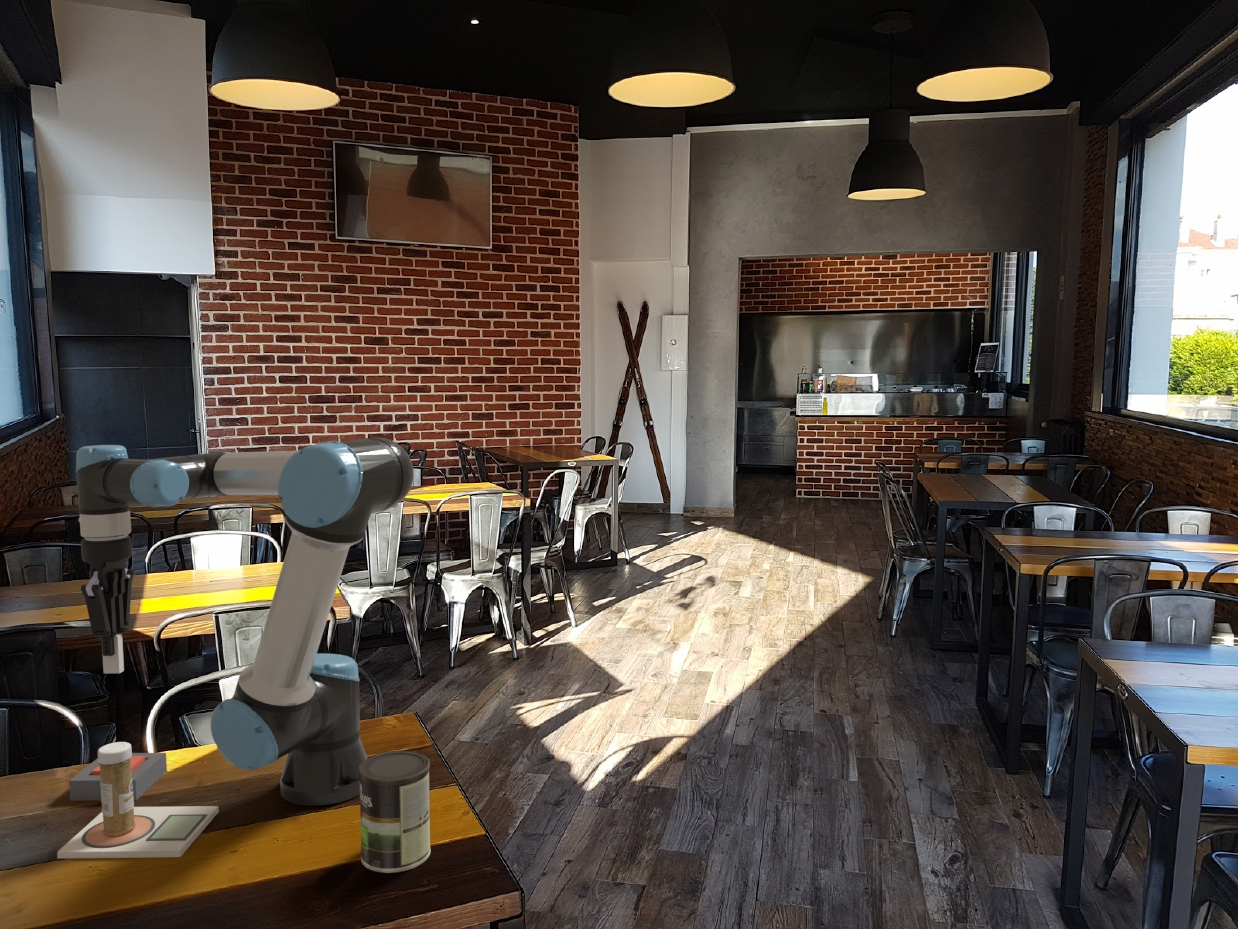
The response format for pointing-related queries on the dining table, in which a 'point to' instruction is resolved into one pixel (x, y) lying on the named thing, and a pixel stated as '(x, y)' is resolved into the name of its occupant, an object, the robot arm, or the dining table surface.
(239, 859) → the dining table surface
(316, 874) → the dining table surface
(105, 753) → the spice jar
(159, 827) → the picture board
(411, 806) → the coffee can
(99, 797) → the button housing
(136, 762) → the button
